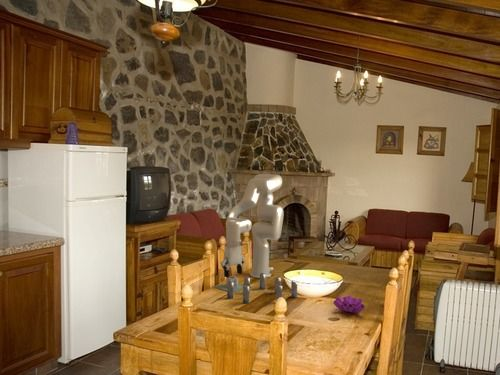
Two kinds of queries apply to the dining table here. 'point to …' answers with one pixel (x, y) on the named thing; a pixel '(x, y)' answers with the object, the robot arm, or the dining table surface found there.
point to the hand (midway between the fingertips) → (233, 275)
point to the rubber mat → (239, 288)
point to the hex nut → (234, 279)
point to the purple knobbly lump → (349, 304)
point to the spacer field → (261, 286)
